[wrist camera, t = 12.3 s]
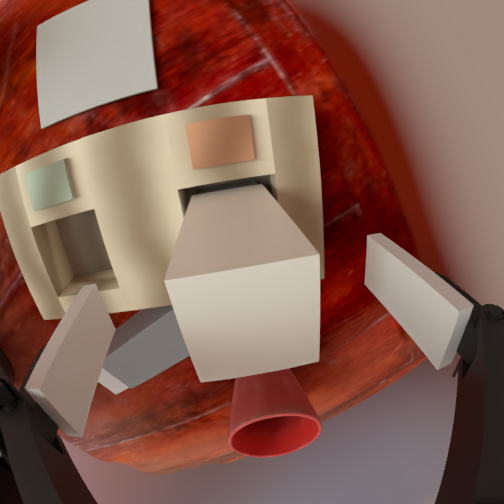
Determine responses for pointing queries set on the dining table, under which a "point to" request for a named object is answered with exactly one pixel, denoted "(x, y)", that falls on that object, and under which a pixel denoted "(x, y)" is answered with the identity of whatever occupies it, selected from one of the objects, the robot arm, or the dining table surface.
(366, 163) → the dining table surface
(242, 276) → the plug
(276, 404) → the flower pot
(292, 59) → the dining table surface
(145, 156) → the socket box
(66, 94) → the mat
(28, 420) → the robot arm
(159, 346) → the plug
